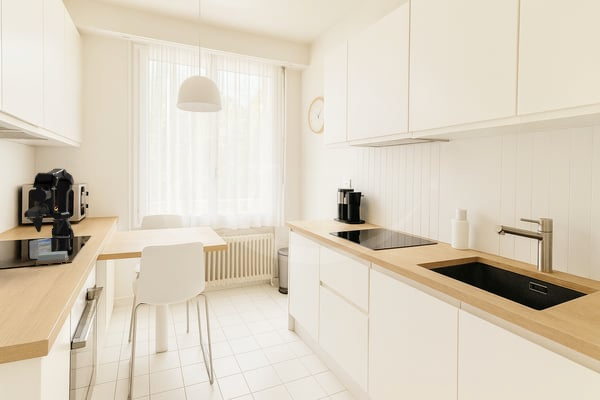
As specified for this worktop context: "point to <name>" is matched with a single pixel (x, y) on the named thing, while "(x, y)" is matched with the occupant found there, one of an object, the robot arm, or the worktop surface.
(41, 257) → the tower top
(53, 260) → the tower base
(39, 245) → the medicine box
